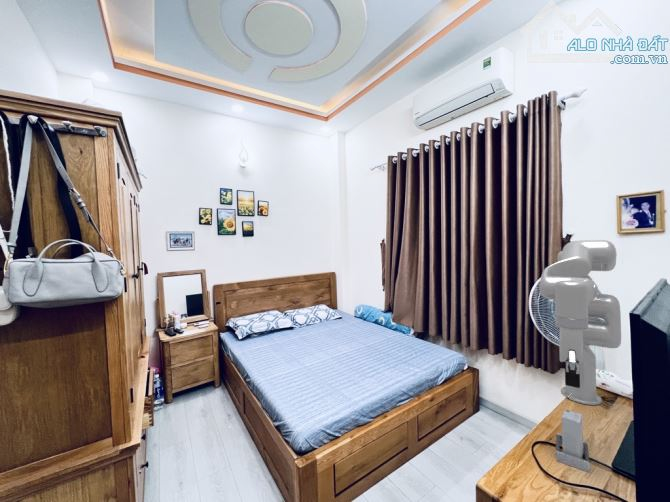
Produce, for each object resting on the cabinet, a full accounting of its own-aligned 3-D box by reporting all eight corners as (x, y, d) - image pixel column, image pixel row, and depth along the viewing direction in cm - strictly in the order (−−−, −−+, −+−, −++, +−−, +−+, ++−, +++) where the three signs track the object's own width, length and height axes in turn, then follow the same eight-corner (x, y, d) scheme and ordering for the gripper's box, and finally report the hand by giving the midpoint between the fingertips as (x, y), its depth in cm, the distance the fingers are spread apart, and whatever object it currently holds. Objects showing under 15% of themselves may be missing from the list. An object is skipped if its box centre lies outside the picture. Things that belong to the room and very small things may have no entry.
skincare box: (581, 466, 81) (581, 423, 80) (561, 457, 84) (561, 417, 84) (584, 454, 85) (583, 414, 85) (564, 447, 88) (564, 408, 88)
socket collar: (556, 440, 91) (556, 432, 91) (587, 450, 87) (587, 442, 86) (555, 460, 83) (555, 451, 83) (589, 472, 78) (589, 463, 78)
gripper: (556, 314, 93) (556, 366, 94) (554, 327, 80) (555, 387, 80) (586, 317, 89) (587, 372, 89) (590, 332, 75) (591, 396, 76)
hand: (572, 379), depth 85 cm, fingers open, 9 cm apart
